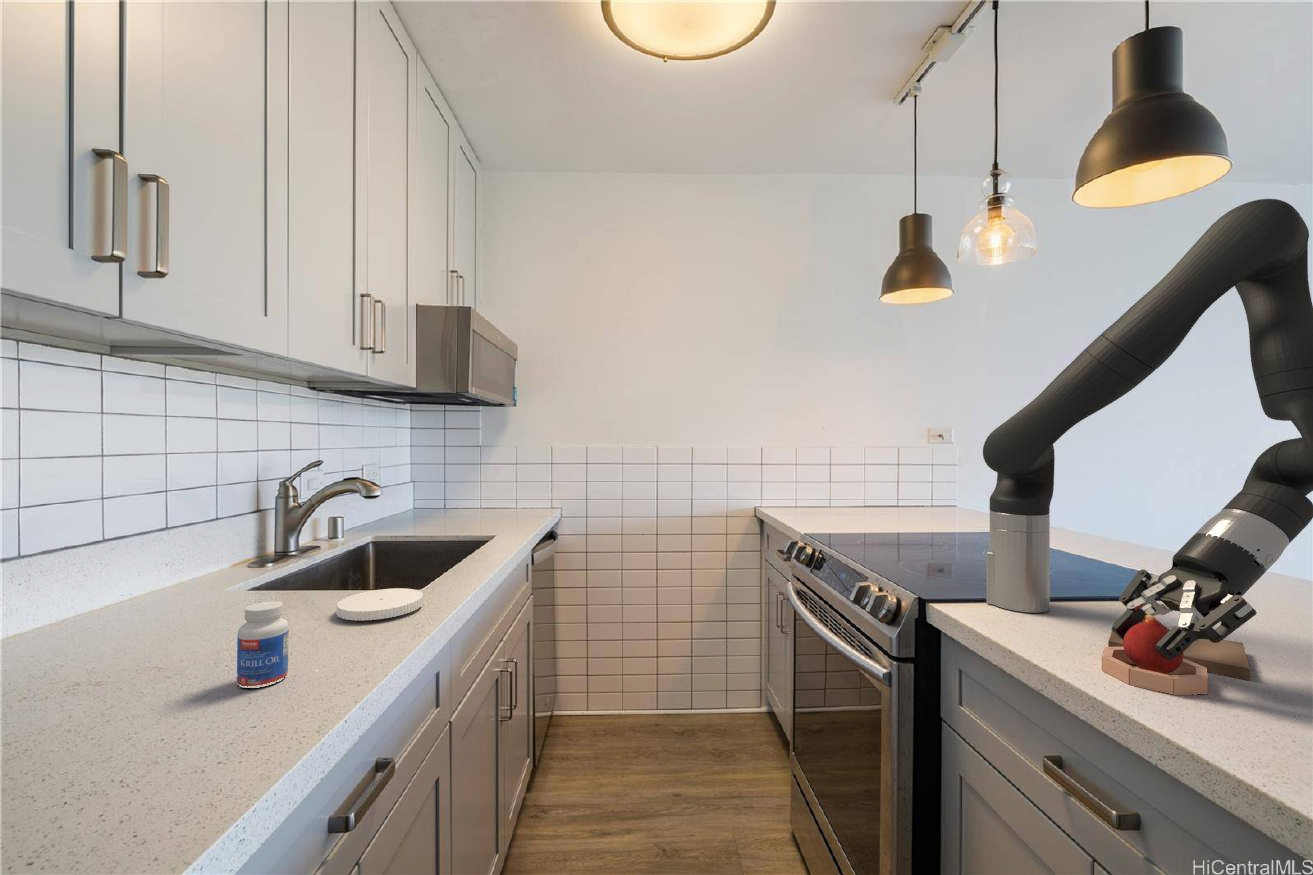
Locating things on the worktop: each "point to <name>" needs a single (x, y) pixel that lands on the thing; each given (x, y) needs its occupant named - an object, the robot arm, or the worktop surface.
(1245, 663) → the walnut board
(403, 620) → the worktop surface
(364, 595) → the plastic lid
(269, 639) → the pill bottle
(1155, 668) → the onion
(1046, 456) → the robot arm
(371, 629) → the worktop surface
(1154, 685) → the ring holder
